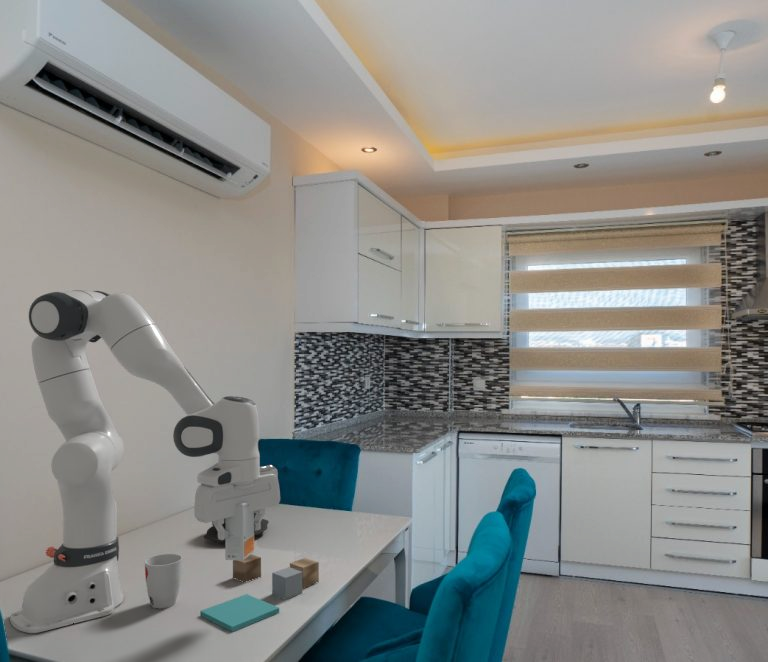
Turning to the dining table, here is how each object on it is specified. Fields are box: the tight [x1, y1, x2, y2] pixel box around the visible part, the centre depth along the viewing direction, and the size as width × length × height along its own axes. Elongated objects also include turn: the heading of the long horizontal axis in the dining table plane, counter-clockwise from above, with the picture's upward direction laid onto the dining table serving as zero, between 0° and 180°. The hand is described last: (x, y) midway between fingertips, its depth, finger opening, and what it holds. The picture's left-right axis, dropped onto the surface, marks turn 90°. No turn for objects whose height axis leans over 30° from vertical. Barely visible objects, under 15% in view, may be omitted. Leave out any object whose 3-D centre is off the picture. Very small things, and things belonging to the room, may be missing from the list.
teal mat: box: [199, 593, 280, 633], centre depth 130 cm, size 12×12×1 cm
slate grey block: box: [271, 566, 303, 600], centre depth 141 cm, size 5×5×5 cm
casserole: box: [203, 512, 270, 543], centre depth 189 cm, size 25×19×8 cm
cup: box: [144, 553, 183, 610], centre depth 136 cm, size 8×8×10 cm
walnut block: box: [232, 553, 262, 583], centre depth 152 cm, size 5×5×5 cm
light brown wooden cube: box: [289, 557, 320, 589], centre depth 148 cm, size 5×5×5 cm
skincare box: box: [224, 502, 255, 561], centre depth 131 cm, size 6×4×12 cm
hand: (239, 534), depth 131 cm, fingers closed on skincare box, 7 cm apart
